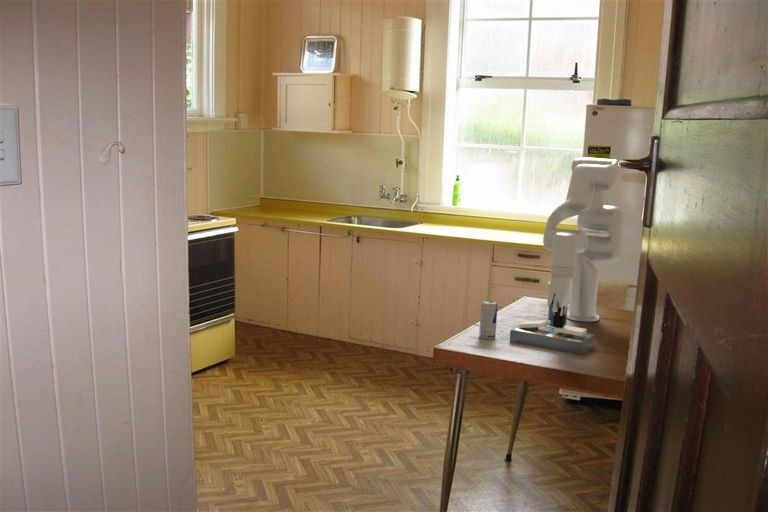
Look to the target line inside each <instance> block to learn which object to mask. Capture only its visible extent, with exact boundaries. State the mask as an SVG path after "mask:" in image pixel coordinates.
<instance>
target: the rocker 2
mask: <svg viewBox="0 0 768 512" xmlns="http://www.w3.org/2000/svg"><path fill="white" fill-rule="evenodd" d="M553 328H554V332H560V333H566V334H572V335H578V336H582V335H584V334H585V333H587V330H588V329H587V328H582V327H575V326H570V325H569V326H568V325H566V326H564V327H563V328H559V327H553Z"/></svg>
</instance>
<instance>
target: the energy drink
mask: <svg viewBox="0 0 768 512" xmlns="http://www.w3.org/2000/svg"><path fill="white" fill-rule="evenodd" d="M497 318H498V302H497V301H495V300H482V301H481V304H480V318H479V320H480V321H479V332H478V333H479V335H478V336H479V337H481V338H480V339H483V340H494V339H495V338H496V335H497Z"/></svg>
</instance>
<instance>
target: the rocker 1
mask: <svg viewBox="0 0 768 512" xmlns="http://www.w3.org/2000/svg"><path fill="white" fill-rule="evenodd" d="M550 324H551V321H550V320H548V319H547V320H524V321H522V322H520V323H519V324H518V325H519V328H530V327H546V326H548V327H549V325H550Z"/></svg>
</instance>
